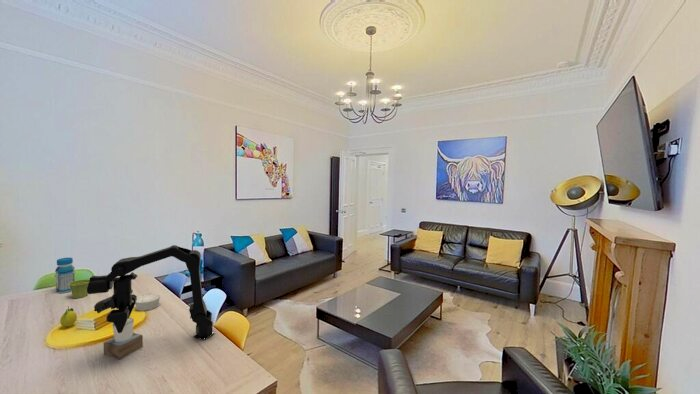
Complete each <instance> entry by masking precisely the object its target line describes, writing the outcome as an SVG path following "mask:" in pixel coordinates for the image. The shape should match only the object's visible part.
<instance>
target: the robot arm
mask: <svg viewBox="0 0 700 394" xmlns="http://www.w3.org/2000/svg"><path fill="white" fill-rule="evenodd" d="M171 257H173V258H175V259H176V260H178V261H180V262H183V263H184V264H185V265H186V268H187V271H188V272H189V276H190V287H191V293H192V302H193V303H191V304H189V305H190V306H189V309H188V310H189V315H190V317H189V319H191V321H192V322H193V323H195V335H193V338H194V337H196V338H195V339H198V338H201V339H200V340H202V339H204V338H205V340H207V339H209V338H210V337H211V336H212V335H211V334H212V331H213V327H214V326H213V324H214V323H213V321H212V320H213V319H212V316H213V315H212V314H213V313H212V312H211V311H210V310H208V308H207V305H206V302H205V300H204V298H203V291H202V290H203V289H202V281H201V280H202V279H201V270H200V268H201V267H200V266H201V258H202V254H201V252H200V251H198V250H197V249H188V248H185V247H181V246H178V245H177V244H176V245H175V244H173V245H171V246H169V247H164V248H162V249H159V250H155V251H151V252H150V253H146V254H144V255H140V256H132V257H131V256H130V257H125V258H121V259H119V260H118V261H116V262H115V263H114V264H113V265H112V267H111V271H110V272H109V273H108V274H107V275H92V276H90V277H89V279H90V281H89V283H88V287H87V293H88V294H87V295H93V294H94V295H96V294H103V293H105V294H106V293H108V292H109V291H110V290H112V289H113V291H112V292H113V294H112V295H111V296H109V297H107V298H105V299H102V300H100V301H98V302H96V303H95V305H94V306H93V308H94V309H93V311H94V312H97V314H101V313H102V312H104V311H106V310H108V309H110V310H111V311H109V312H108V313H107V315H106V317H105V318H106V323H107V322H108V323H112V324H113V323H114V325H115V327H116V329H117V331H118V333H122V331H123V328H124V326H125V324H126V321H127V319H128V318H131V314H132V312H133V310H134V307H135V306H136V304H135V303H136V300H137V298H138V297H137V296H138V295H135V294H133V293H134V291H133V288H132V280H133V281H134V280H136V279H137V277H139V276H138V274H136V273H134V271H135V270H137V269H138V268H141V267H144V266H147V265H149V264H152V263H155V262H159V261H161V260H164V259H167V258H171ZM210 335H211V336H210ZM209 336H210V337H209ZM206 338H207V339H206Z"/></svg>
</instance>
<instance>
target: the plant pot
mask: <svg viewBox="0 0 700 394" xmlns="http://www.w3.org/2000/svg"><path fill="white" fill-rule="evenodd" d="M89 281H90V278H89V279H88V278H86V279H78V280H75V281H73V282H71V283H69V284H68V285H69V286H70V287H71V291H70V292H71V295H72V299H81V298H85V297H87V296H88V295H89V294H88V293H87V287H88V283H89Z"/></svg>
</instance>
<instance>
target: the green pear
mask: <svg viewBox="0 0 700 394" xmlns="http://www.w3.org/2000/svg"><path fill="white" fill-rule="evenodd" d="M77 320H78V316H77V313H76V312H75V311H74V308H73V307H71V308H70V306H68V305H67V309H65V312H64V313H62V315H61V316H60V320H59V321H60V325H61V326H62V327H69V326H70V327H71V326H72V325H73V324H75V323H76V322H75V321H77Z"/></svg>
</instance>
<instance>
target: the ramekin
mask: <svg viewBox="0 0 700 394" xmlns="http://www.w3.org/2000/svg"><path fill="white" fill-rule="evenodd" d="M160 299H161V295H160V294H158V293H157V294H156V293H150V294H145V295H141V296H139V297H137V300H136V303H135V307H136V310H138V311H140V312H145V311H150V310H154V309H155V308H157V307H158V306H159V303H160Z"/></svg>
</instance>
